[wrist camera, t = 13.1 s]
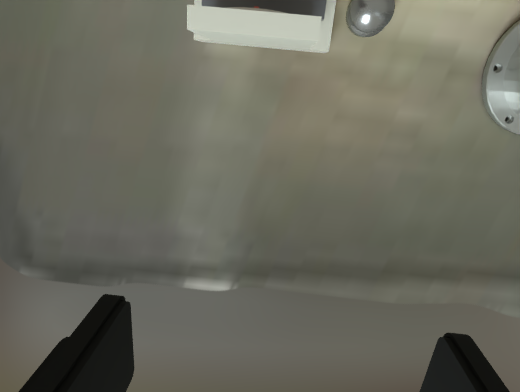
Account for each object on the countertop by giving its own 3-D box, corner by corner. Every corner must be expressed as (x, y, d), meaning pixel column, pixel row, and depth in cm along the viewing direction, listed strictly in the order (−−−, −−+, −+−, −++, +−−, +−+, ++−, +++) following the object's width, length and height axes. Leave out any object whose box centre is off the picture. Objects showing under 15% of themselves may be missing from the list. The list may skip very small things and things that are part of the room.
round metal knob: (393, 26, 34) (399, 25, 32) (352, 43, 35) (356, 43, 33) (382, -21, 32) (388, -25, 30) (340, -1, 33) (343, -4, 31)
